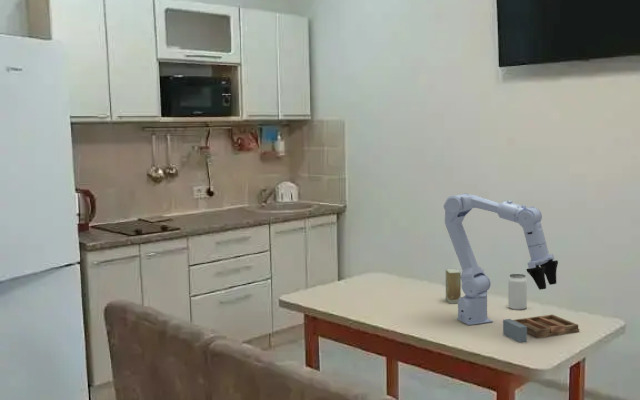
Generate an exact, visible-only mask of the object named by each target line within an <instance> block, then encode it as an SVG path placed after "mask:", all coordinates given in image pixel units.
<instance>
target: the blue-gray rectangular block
mask: <svg viewBox="0 0 640 400" xmlns="http://www.w3.org/2000/svg"><path fill="white" fill-rule="evenodd" d="M514 320H515V319H511V318H507V319H506V318H505V319H503V320H502V324H503V325H502V335H503V336H505V337H507V338H509V339H511V340H513V341H516V342H517V343H519V344H521V343H527V341H528V334H527V326H525V325H522V324H520V323H518V322H516V321H514Z"/></svg>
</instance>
